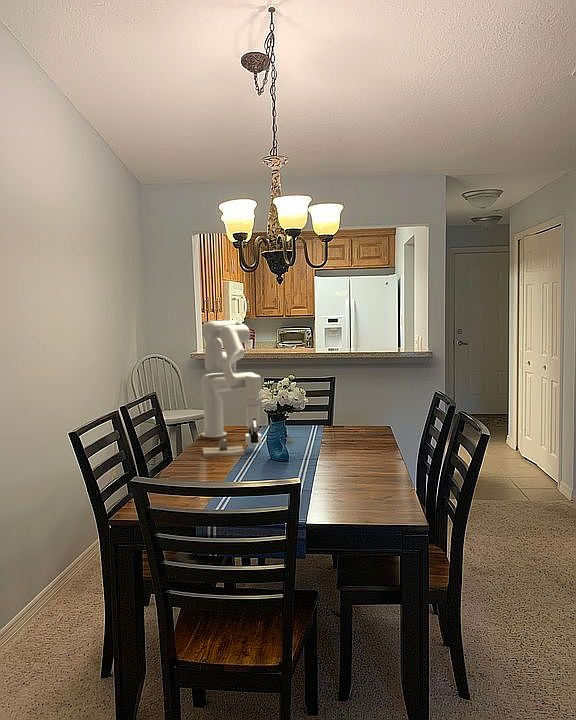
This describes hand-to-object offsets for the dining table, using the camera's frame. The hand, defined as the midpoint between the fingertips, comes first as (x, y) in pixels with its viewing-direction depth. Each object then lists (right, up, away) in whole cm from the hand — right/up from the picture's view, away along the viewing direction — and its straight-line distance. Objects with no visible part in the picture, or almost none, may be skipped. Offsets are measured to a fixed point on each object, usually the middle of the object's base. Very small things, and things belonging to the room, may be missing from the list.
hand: (253, 440), depth 296 cm
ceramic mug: (+13, -3, +19) cm, 23 cm away
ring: (0, -1, 0) cm, 1 cm away
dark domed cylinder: (-13, -4, -3) cm, 14 cm away
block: (-13, -5, -2) cm, 15 cm away
